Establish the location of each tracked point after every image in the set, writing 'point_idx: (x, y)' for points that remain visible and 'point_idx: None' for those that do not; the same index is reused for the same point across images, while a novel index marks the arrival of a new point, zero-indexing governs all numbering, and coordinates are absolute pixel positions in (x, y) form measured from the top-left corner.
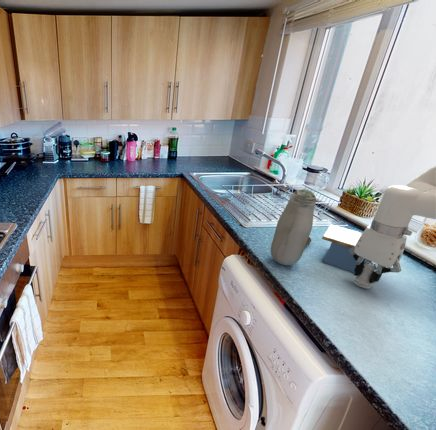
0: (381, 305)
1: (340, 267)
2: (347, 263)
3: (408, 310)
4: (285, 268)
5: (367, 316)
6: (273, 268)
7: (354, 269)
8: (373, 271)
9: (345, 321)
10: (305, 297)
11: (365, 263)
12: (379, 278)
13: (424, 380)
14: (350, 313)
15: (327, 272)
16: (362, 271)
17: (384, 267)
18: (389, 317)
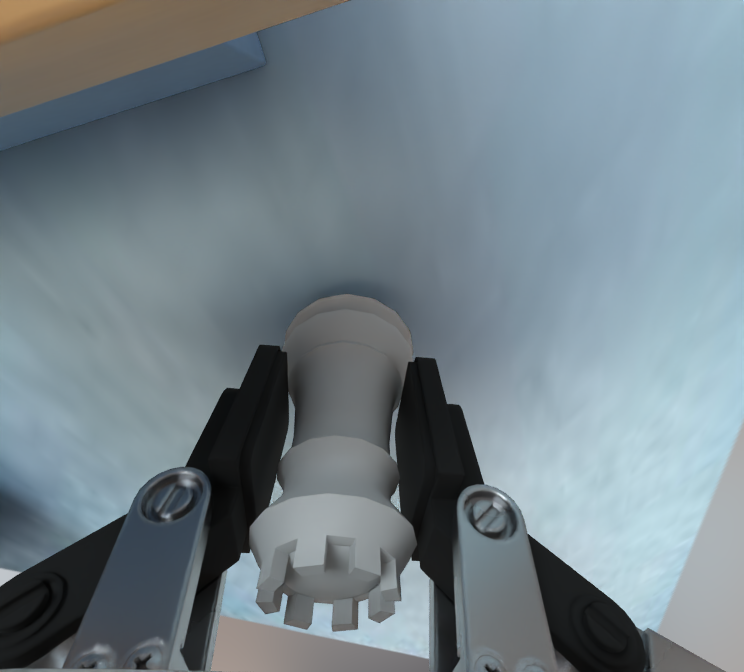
0: (508, 418)
1: (35, 138)
2: (6, 131)
3: (656, 333)
4: (12, 517)
5: None
6: (7, 556)
7: (134, 98)
8: (390, 490)
9: (424, 598)
10: None
11: (259, 566)
12: (464, 433)
13: (646, 622)
14: (418, 561)
15: (102, 349)
16: (279, 378)
17: (513, 606)
18: (554, 476)
